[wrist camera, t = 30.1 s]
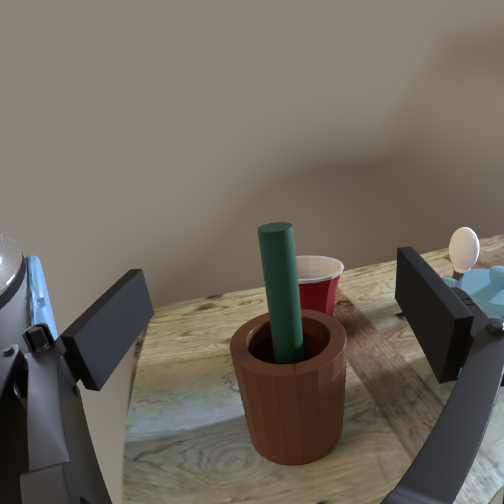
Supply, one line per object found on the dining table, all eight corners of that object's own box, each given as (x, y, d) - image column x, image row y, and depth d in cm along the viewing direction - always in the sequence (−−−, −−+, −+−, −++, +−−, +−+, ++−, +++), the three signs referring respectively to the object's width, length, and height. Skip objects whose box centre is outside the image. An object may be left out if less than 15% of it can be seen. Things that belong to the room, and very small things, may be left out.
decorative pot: (451, 415, 27) (482, 316, 22) (412, 338, 42) (421, 253, 37) (545, 380, 25) (578, 288, 20) (495, 320, 40) (509, 242, 35)
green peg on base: (273, 441, 29) (241, 238, 22) (276, 412, 33) (249, 222, 26) (316, 439, 28) (306, 232, 21) (315, 410, 32) (303, 216, 25)
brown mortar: (245, 465, 27) (219, 377, 23) (256, 400, 36) (239, 312, 32) (344, 462, 25) (354, 370, 21) (338, 396, 35) (339, 304, 31)
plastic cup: (354, 323, 49) (354, 254, 45) (326, 363, 41) (324, 285, 37) (297, 312, 55) (291, 247, 52) (262, 345, 48) (251, 273, 44)
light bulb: (476, 274, 55) (481, 224, 52) (474, 288, 51) (480, 234, 47) (448, 270, 60) (451, 221, 56) (444, 283, 55) (448, 230, 51)
